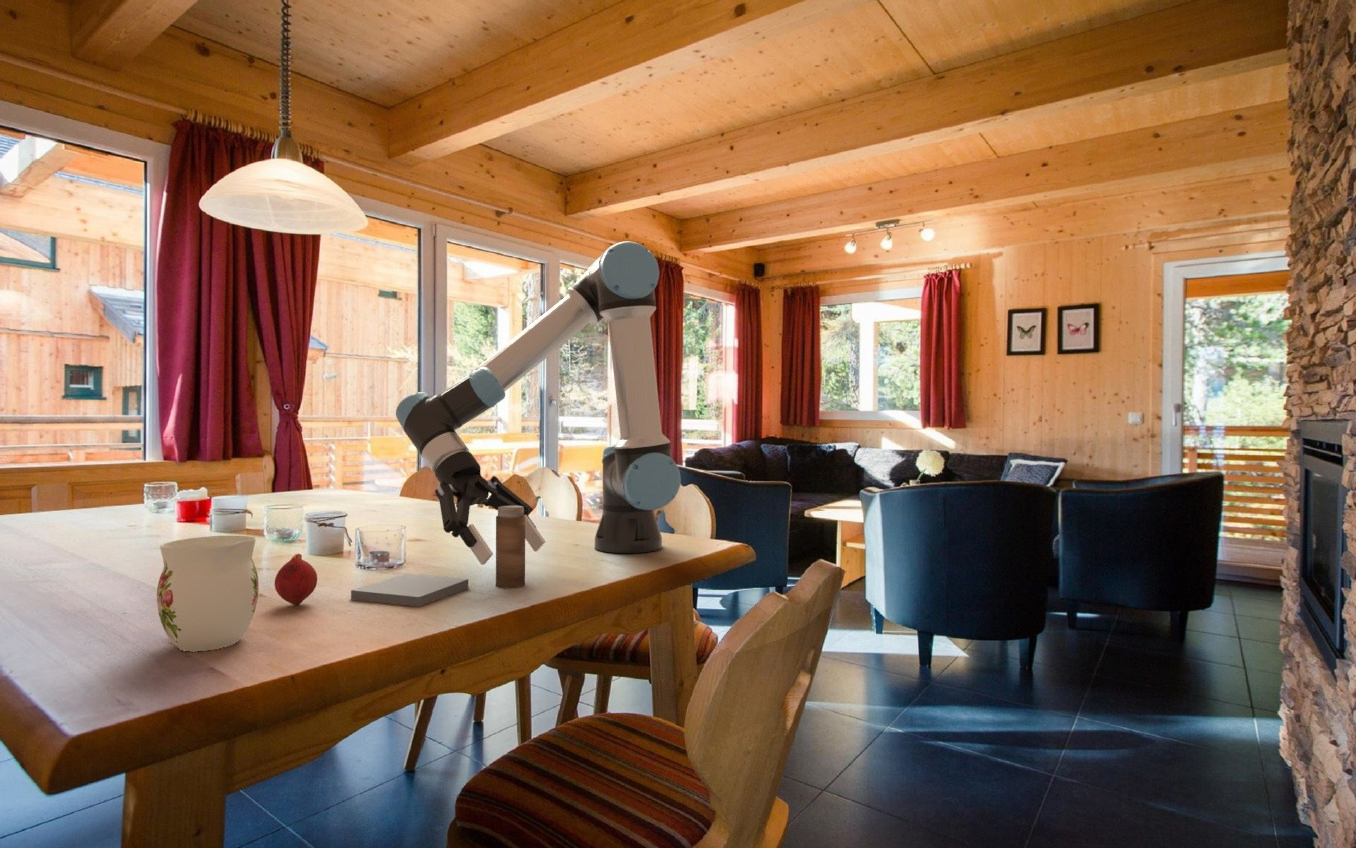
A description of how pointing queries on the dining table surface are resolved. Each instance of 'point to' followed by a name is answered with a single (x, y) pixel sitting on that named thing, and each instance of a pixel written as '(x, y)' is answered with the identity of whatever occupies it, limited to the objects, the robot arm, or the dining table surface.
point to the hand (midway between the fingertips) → (515, 553)
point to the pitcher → (207, 591)
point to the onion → (296, 580)
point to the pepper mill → (510, 547)
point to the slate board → (410, 589)
